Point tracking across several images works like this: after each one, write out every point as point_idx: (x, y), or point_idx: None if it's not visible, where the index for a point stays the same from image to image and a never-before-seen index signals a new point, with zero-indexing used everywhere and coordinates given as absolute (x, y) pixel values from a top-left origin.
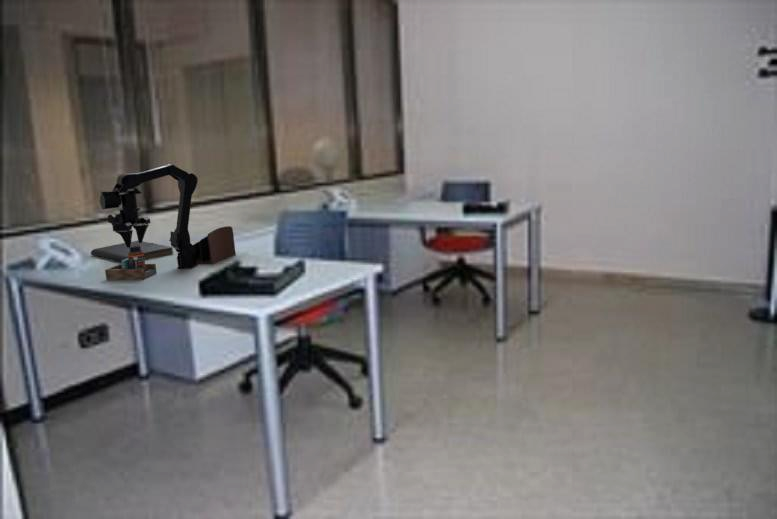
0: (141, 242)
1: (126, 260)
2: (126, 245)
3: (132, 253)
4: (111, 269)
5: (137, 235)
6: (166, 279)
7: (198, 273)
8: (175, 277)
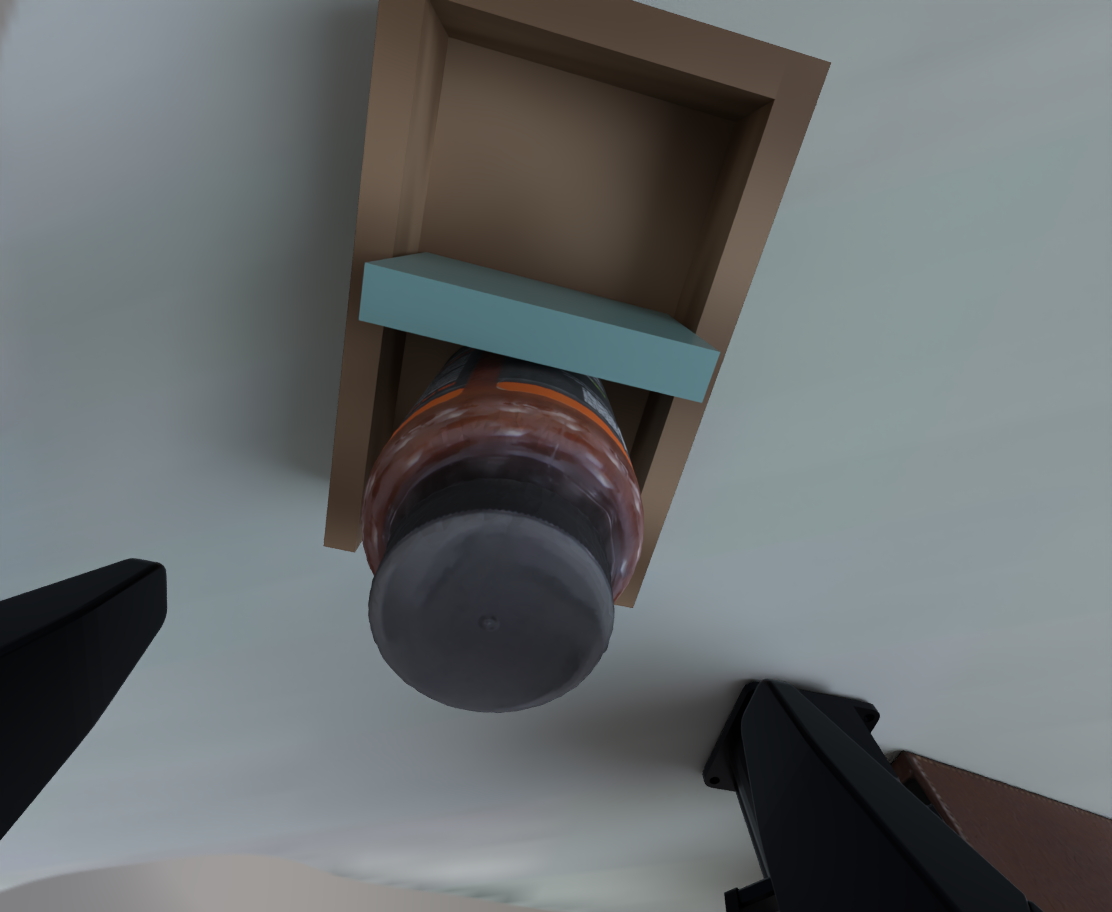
0: (744, 733)
1: (444, 338)
2: (72, 586)
3: (365, 522)
4: (409, 57)
5: (907, 872)
6: (336, 675)
7: (500, 836)
8: (398, 722)
